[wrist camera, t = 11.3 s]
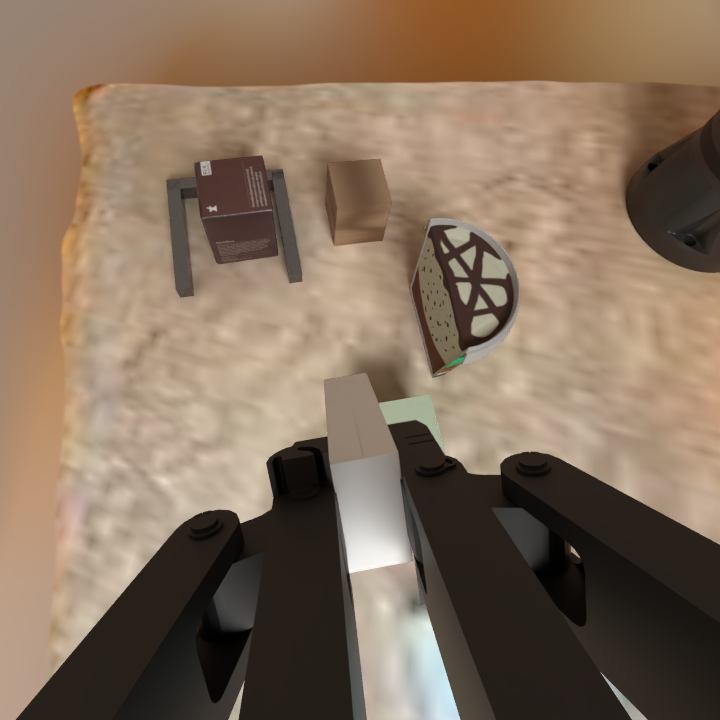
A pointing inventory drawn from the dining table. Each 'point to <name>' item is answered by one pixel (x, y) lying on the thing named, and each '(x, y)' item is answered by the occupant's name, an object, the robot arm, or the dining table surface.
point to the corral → (180, 246)
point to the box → (236, 208)
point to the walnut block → (357, 201)
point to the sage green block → (413, 413)
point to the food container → (462, 294)
